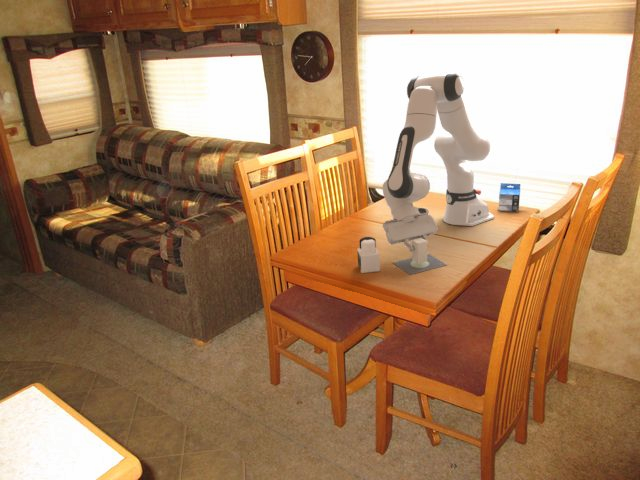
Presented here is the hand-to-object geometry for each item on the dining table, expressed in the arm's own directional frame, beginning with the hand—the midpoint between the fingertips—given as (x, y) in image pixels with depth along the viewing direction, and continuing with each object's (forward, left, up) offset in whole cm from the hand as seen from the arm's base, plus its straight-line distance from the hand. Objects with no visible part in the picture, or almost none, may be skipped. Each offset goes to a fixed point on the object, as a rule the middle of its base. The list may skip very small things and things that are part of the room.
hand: (419, 249), depth 195 cm
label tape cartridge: (-66, -29, -6) cm, 72 cm away
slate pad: (0, 0, -6) cm, 6 cm away
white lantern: (+18, -6, -6) cm, 20 cm away
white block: (0, 0, -5) cm, 5 cm away
